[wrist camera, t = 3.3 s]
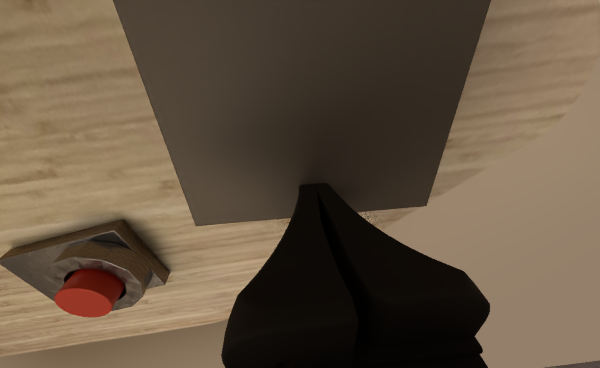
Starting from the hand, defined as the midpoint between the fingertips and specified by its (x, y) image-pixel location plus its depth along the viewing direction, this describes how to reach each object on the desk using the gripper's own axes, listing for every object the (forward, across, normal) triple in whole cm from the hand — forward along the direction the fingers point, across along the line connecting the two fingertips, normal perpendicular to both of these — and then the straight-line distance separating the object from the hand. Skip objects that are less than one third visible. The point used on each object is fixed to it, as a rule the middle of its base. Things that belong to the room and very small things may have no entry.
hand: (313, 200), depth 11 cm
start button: (+4, +17, +9) cm, 19 cm away
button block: (+6, +18, +10) cm, 22 cm away
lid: (+1, 0, -5) cm, 5 cm away
